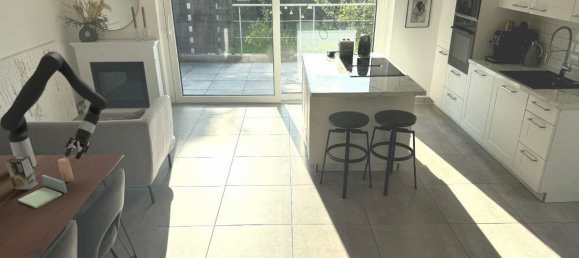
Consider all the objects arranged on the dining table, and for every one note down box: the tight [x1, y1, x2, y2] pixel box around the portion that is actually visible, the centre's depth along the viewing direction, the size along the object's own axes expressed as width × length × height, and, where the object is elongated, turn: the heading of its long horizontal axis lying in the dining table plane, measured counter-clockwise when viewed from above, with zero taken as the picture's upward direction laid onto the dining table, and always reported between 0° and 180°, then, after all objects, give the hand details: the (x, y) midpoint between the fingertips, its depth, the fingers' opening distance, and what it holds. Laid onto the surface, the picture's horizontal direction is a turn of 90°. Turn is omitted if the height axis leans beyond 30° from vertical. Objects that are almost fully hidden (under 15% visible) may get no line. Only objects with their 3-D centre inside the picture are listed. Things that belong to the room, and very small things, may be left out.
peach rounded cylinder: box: [57, 157, 74, 183], centre depth 208 cm, size 5×5×12 cm
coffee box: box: [4, 155, 39, 190], centre depth 201 cm, size 9×6×16 cm
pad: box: [17, 186, 62, 209], centre depth 193 cm, size 14×13×1 cm
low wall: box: [41, 174, 68, 194], centre depth 201 cm, size 17×1×6 cm, turn 63°
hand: (71, 157), depth 210 cm, fingers open, 8 cm apart
